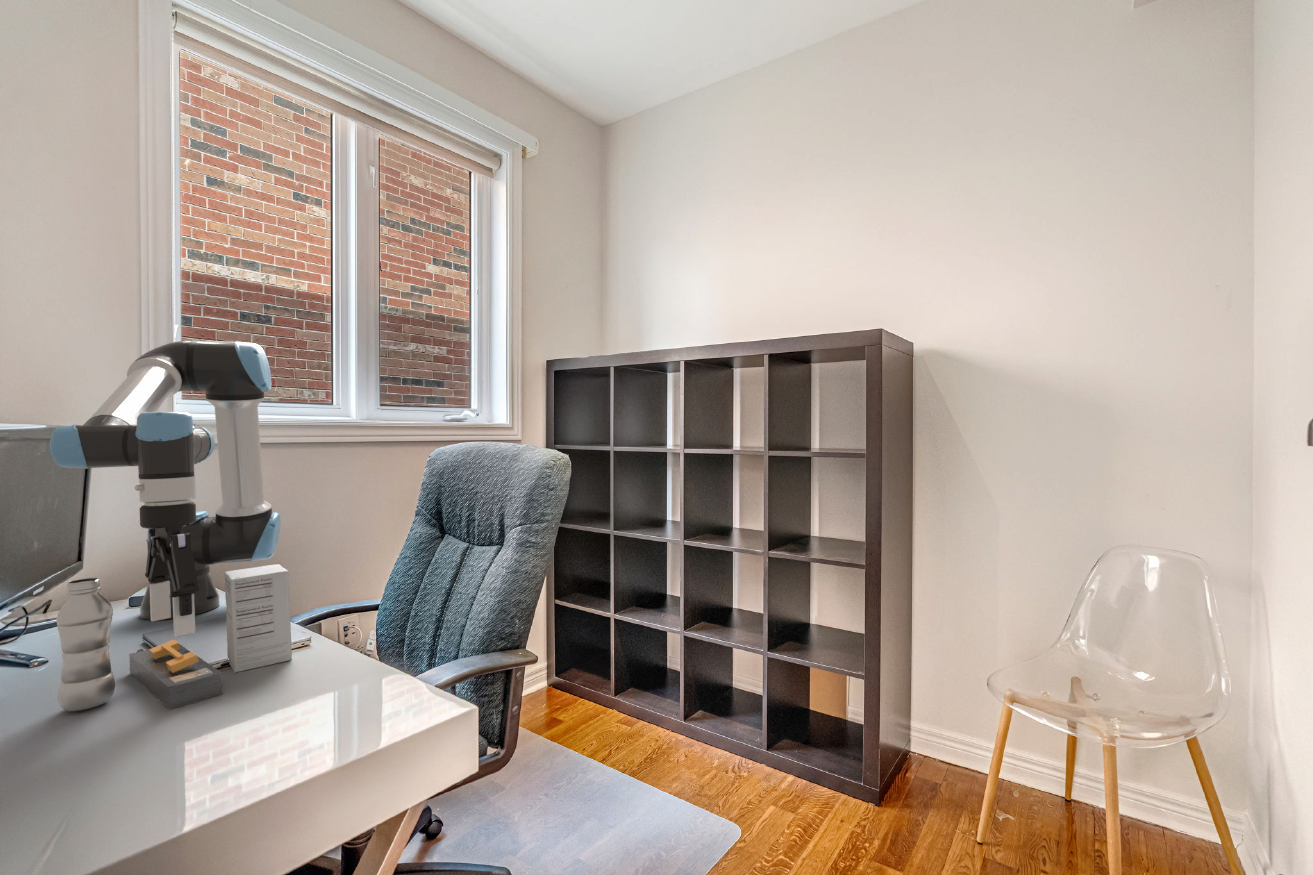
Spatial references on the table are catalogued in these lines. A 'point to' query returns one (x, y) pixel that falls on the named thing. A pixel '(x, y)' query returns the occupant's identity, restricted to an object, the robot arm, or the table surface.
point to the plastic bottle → (85, 647)
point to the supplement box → (258, 617)
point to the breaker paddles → (179, 660)
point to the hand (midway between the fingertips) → (172, 626)
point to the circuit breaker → (175, 679)
